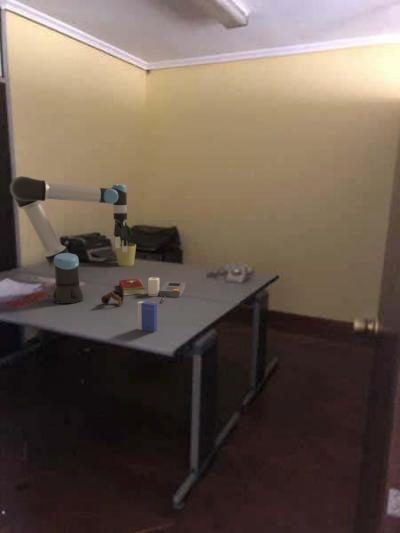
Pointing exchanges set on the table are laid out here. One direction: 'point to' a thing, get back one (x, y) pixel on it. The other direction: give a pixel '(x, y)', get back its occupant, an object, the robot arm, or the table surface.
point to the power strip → (172, 289)
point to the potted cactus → (128, 256)
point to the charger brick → (153, 287)
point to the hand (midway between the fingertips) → (121, 249)
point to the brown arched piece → (113, 294)
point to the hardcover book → (131, 286)
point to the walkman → (147, 316)
